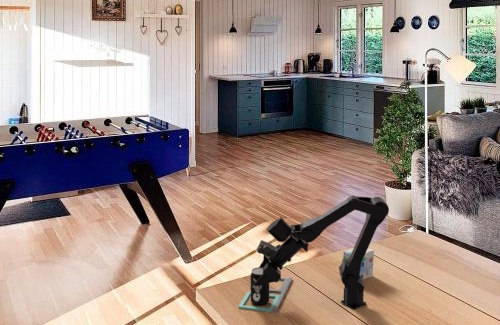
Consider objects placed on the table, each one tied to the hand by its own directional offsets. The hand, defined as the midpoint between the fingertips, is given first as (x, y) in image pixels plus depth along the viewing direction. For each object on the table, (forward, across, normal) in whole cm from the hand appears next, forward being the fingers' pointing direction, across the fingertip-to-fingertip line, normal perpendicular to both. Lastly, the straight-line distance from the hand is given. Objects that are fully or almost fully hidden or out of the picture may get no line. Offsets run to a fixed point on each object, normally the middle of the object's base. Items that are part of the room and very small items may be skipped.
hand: (255, 279), depth 194 cm
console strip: (+2, -7, +10) cm, 12 cm away
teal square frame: (+5, 0, +7) cm, 9 cm away
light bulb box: (-22, -23, +34) cm, 46 cm away
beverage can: (+5, 0, +7) cm, 9 cm away
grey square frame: (+3, -15, +10) cm, 18 cm away
